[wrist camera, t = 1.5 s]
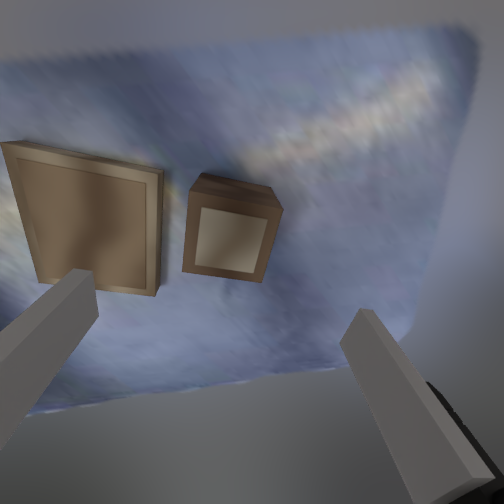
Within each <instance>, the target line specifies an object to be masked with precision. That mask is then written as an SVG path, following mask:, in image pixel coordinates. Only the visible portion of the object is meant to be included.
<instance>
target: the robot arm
mask: <svg viewBox="0 0 504 504" xmlns="http://www.w3.org/2000/svg"><path fill="white" fill-rule="evenodd" d="M98 316H99V315H98V307H97V300H96V293H95V285H94V278H93V271H89V270H82V269H75V268H73V269H72V270H71V271H70V272H69V273H68V274H67V275H65V276H64V277H63V278H62V279H61V280H60V281H58V282H57V283H56V284H55V285H54V286H53V287H52V288H50V289H49V290H48V291H47V292H46V293H45V294H44V295H42V296H41V297H40V298H39V299H38V300H37V301H35V302H34V303H33V304H32V305H31V306H30V307H29V308H27V309H26V310H25V311H24V312H23V313H22V314H20V315H19V316H18V317H17V318H16V319H15V320H14V321H12V322H11V323H10V324H9V325H8V326H7V327H5V328H4V329H3V330H2V331H1V332H0V450H1V449H2V448H3V446H4V445H5V444H6V442H7V441H8V439H9V438H10V437H11V435H12V434H13V433H14V431H15V430H16V429H17V427H18V426H19V424H20V423H21V422H22V420H23V419H24V418H25V416H26V415H27V414H28V412H29V411H30V409H31V408H32V407H33V405H34V404H35V403H36V401H37V400H38V398H39V397H40V396H41V394H42V393H43V392H44V390H45V389H46V388H47V386H48V385H49V383H50V382H51V381H52V379H53V378H54V377H55V375H56V374H57V372H58V371H59V370H60V368H61V367H62V366H63V364H64V363H65V362H66V360H67V359H68V357H69V356H70V355H71V353H72V352H73V351H74V349H75V348H76V347H77V345H78V344H79V342H80V341H81V340H82V338H83V337H84V336H85V334H86V333H87V331H88V330H89V329H90V327H91V326H92V325H93V323H94V322H95V321H96V319H97V318H98ZM340 346H341V348H342V350H343V352H344V354H345V356H346V358H347V361H348V363H349V365H350V367H351V369H352V371H353V373H354V376H355V378H356V380H357V382H358V384H359V386H360V388H361V391H362V393H363V395H364V397H365V399H366V401H367V403H368V406H369V408H370V410H371V412H372V414H373V416H374V419H375V421H376V423H377V425H378V427H379V429H380V431H381V433H382V436H383V438H384V440H385V442H386V444H387V446H388V449H389V451H390V453H391V455H392V457H393V459H394V461H395V464H396V466H397V468H398V470H399V472H400V474H401V477H402V478H403V481H404V483H405V485H406V487H407V489H408V491H409V494H410V496H411V498H412V500H413V502H414V504H504V475H503V474H502V473H501V472H500V470H499V469H498V468H497V466H496V465H495V464H494V462H493V461H492V460H491V459H490V457H489V456H488V455H487V453H486V452H485V451H484V449H483V448H482V447H481V445H480V444H479V443H478V441H477V440H476V439H475V438H474V436H473V435H472V433H471V432H470V431H469V429H468V428H467V427H466V426H465V425H463V423H462V420H461V419H460V418H459V416H458V415H457V414H456V412H454V411H453V408H452V407H451V406H450V404H449V403H448V402H447V400H446V399H445V398H444V397H443V395H442V394H441V393H440V392H439V391H437V389H435V388H434V387H433V386H432V385H431V384H430V383H429V382H425V381H424V379H423V378H422V377H421V375H420V374H419V373H418V371H417V370H416V369H415V367H414V366H413V365H412V363H411V362H410V360H409V359H408V358H407V356H406V355H405V353H404V352H403V351H402V349H401V348H400V347H399V345H398V344H397V342H396V341H395V340H394V338H393V337H392V336H391V334H390V333H389V332H388V330H387V329H386V327H385V326H384V325H383V323H382V322H381V321H380V319H379V318H378V316H377V315H376V314H375V312H374V311H373V310H369V309H362V308H360V309H359V311H358V312H357V314H356V316H355V317H354V319H353V321H352V323H351V324H350V326H349V328H348V329H347V331H346V333H345V334H344V336H343V338H342V339H341V341H340Z"/></svg>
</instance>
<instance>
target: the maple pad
mask: <svg viewBox="0 0 504 504" xmlns="http://www.w3.org/2000/svg"><path fill="white" fill-rule="evenodd" d="M0 144H1V148H2V151H3V155H4V159H5V162H6V166H7V169H8V173H9V177H10V180H11V184H12V188H13V191H14V195H15V198H16V202H17V206H18V209H19V213H20V216H21V220H22V224H23V227H24V231H25V234H26V238H27V242H28V245H29V249H30V253H31V256H32V260H33V263H34V267H35V271H36V274H37V278H38V281H39V283H45V284H53V285H55V284H56V283H57V282H58V281H60V280H61V279H62V278H63V277H64V276H65V275H67V274H68V273H69V272H70V271H71V270H72V269H73V268H75V269H82V270H89V271H93V278H94V285H95V290H103V291H112V292H120V293H128V294H137V295H145V296H153V297H155V296H156V293H157V291H158V289H159V287H160V269H161V240H162V211H163V183H164V170H160V169H155V168H150V167H145V166H140V165H136V164H131V163H126V162H121V161H116V160H111V159H107V158H102V157H97V156H92V155H87V154H83V153H78V152H73V151H68V150H63V149H59V148H54V147H49V146H44V145H39V144H34V143H30V142H25V141H9V142H0Z"/></svg>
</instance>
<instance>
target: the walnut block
mask: <svg viewBox="0 0 504 504" xmlns="http://www.w3.org/2000/svg"><path fill="white" fill-rule="evenodd" d="M282 213H283V208H282V206H281V204H280V203H279V201H278V199H277V197H276V196H275V194H274V192H273V190H272V189H271V187H266V186H262V185H257V184H252V183H247V182H243V181H238V180H233V179H229V178H224V177H219V176H214V175H210V174H205V173H201V174H200V176H199V177H198V179H197V180H196V182H195V183H194V184H193V186H192V187H191V189H190V190H189V198H188V209H187V220H186V232H185V243H184V254H183V266H182V272H186V273H194V274H201V275H208V276H215V277H222V278H229V279H237V280H244V281H251V282H258V283H262V280H263V277H264V273H265V270H266V267H267V263H268V260H269V256H270V253H271V250H272V246H273V243H274V240H275V236H276V233H277V230H278V226H279V223H280V219H281V216H282Z"/></svg>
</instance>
